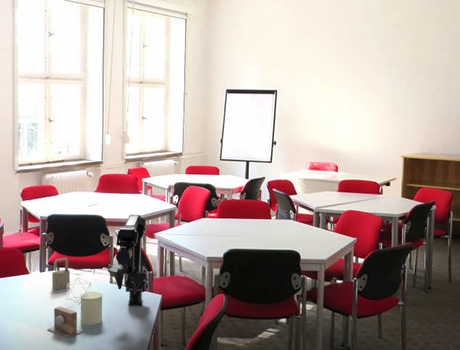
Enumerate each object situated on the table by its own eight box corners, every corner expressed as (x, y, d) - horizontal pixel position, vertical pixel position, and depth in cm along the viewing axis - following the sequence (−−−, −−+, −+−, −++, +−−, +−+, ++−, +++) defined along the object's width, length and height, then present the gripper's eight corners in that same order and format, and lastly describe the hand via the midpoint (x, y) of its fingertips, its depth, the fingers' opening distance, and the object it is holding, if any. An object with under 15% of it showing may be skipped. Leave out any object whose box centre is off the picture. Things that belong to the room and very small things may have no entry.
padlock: (51, 288, 292) (51, 259, 290) (66, 285, 297) (66, 256, 295) (55, 290, 289) (55, 260, 287) (70, 287, 294) (70, 258, 292)
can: (79, 318, 253) (79, 291, 252) (100, 316, 257) (100, 289, 255) (81, 326, 245) (81, 298, 243) (103, 323, 248) (103, 296, 247)
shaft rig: (62, 324, 246) (62, 303, 245) (83, 331, 239) (84, 310, 238) (47, 330, 239) (47, 309, 238) (69, 338, 232) (69, 316, 231)
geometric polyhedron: (91, 303, 272) (91, 284, 271) (67, 305, 269) (67, 285, 268) (89, 295, 284) (89, 276, 283) (66, 296, 281) (66, 278, 280)
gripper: (98, 255, 247) (98, 291, 249) (127, 265, 235) (127, 302, 237) (118, 250, 255) (118, 284, 258) (147, 259, 244) (147, 295, 246)
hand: (127, 291), depth 249 cm, fingers open, 9 cm apart
